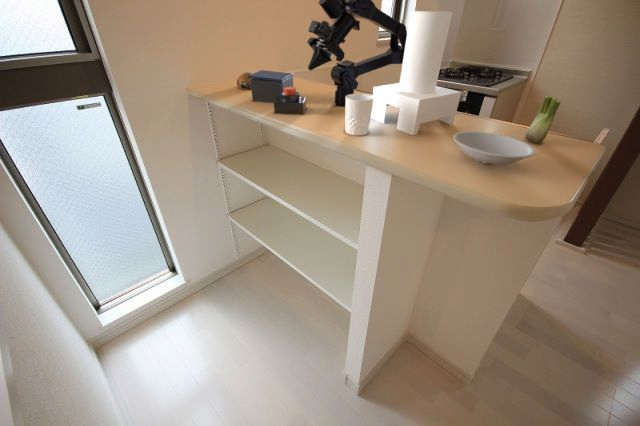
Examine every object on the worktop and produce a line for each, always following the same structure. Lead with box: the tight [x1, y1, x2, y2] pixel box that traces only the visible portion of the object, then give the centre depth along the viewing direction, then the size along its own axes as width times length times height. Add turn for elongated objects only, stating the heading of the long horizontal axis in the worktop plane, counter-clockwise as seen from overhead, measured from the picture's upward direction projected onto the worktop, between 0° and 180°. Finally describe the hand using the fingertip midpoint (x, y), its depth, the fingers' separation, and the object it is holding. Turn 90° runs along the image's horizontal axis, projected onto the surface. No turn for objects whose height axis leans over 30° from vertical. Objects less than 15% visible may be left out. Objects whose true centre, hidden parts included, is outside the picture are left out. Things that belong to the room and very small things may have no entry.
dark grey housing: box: [250, 75, 294, 104], centre depth 118 cm, size 13×13×8 cm
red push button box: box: [273, 91, 307, 115], centre depth 105 cm, size 10×8×6 cm
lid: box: [248, 69, 294, 82], centre depth 115 cm, size 13×13×1 cm
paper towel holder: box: [370, 10, 462, 136], centre depth 90 cm, size 19×19×30 cm
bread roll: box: [236, 71, 253, 91], centre depth 135 cm, size 10×10×8 cm
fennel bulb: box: [524, 95, 561, 144], centre depth 81 cm, size 6×5×12 cm
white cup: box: [344, 93, 374, 137], centre depth 87 cm, size 8×8×10 cm
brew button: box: [284, 86, 297, 95], centre depth 102 cm, size 4×4×2 cm
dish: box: [452, 130, 536, 165], centre depth 71 cm, size 18×14×5 cm
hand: (309, 69), depth 102 cm, fingers closed
